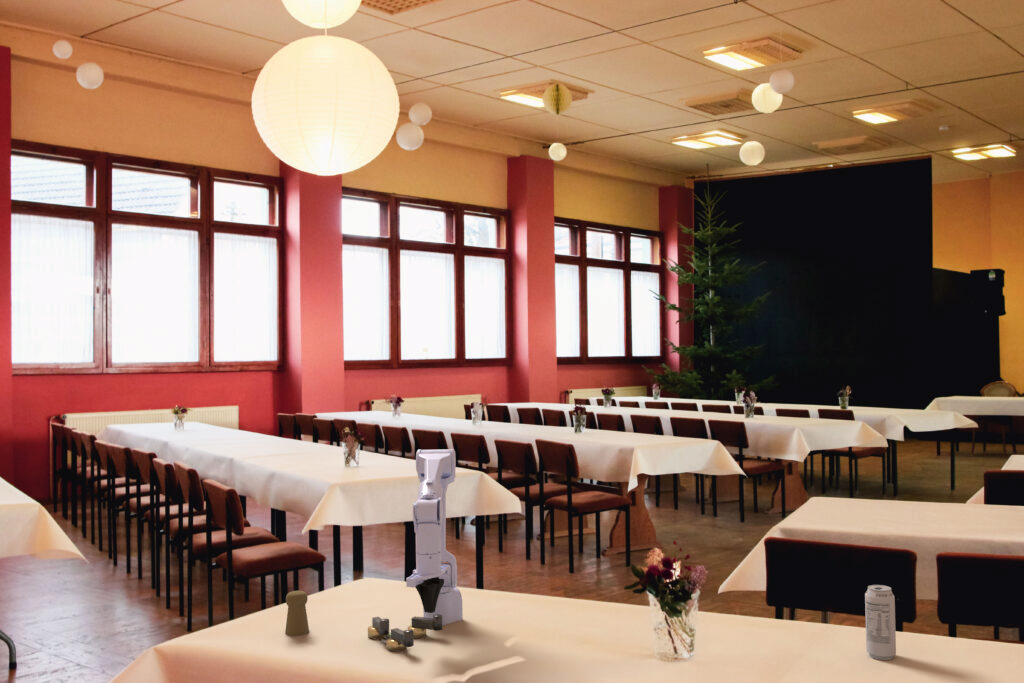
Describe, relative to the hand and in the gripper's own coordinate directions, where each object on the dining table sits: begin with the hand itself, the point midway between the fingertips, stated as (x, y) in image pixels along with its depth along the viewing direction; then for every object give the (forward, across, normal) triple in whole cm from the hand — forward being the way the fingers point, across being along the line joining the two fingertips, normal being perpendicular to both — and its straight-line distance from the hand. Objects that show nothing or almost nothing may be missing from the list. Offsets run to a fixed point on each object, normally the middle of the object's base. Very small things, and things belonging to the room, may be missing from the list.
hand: (429, 611), depth 206 cm
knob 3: (+8, -6, -6) cm, 12 cm away
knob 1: (+8, 0, -15) cm, 17 cm away
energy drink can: (+10, -43, +90) cm, 100 cm away
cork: (+10, +5, -36) cm, 38 cm away
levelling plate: (+9, -1, -11) cm, 15 cm away
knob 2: (+8, +4, -5) cm, 11 cm away
